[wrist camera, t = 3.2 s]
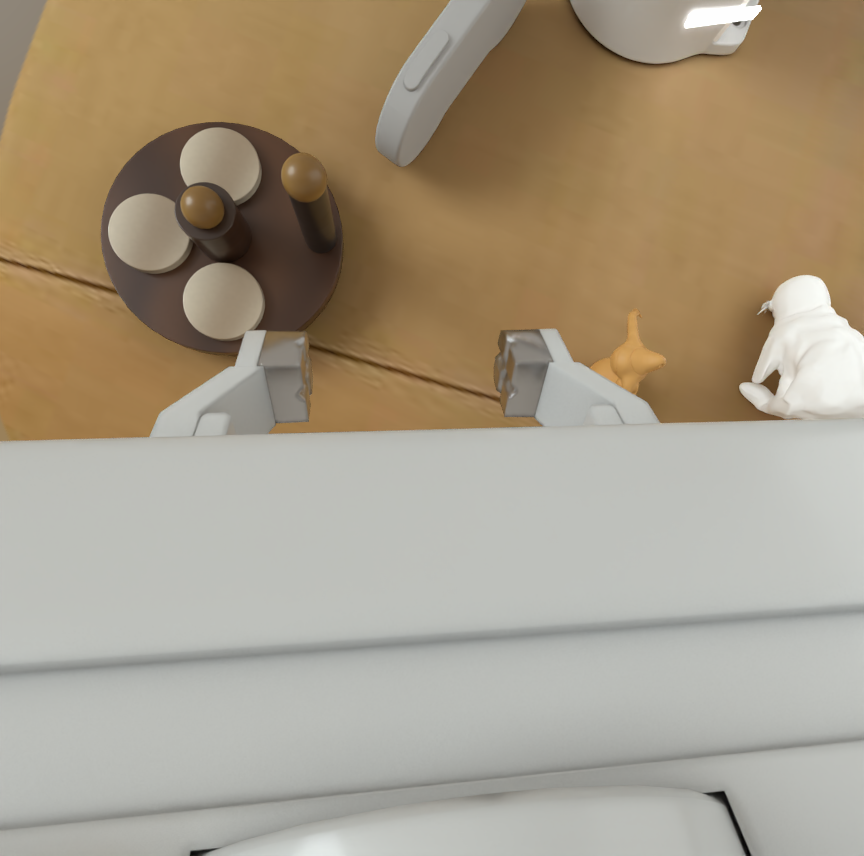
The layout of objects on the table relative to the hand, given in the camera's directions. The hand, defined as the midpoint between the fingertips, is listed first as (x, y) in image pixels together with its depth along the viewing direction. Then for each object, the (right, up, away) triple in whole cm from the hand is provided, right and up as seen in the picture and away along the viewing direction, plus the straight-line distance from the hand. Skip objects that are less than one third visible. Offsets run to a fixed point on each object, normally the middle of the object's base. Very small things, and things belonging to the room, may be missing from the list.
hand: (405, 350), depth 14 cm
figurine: (+13, +1, +27) cm, 30 cm away
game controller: (+2, +25, +27) cm, 37 cm away
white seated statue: (+29, +4, +29) cm, 41 cm away
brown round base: (-14, +11, +22) cm, 28 cm away
